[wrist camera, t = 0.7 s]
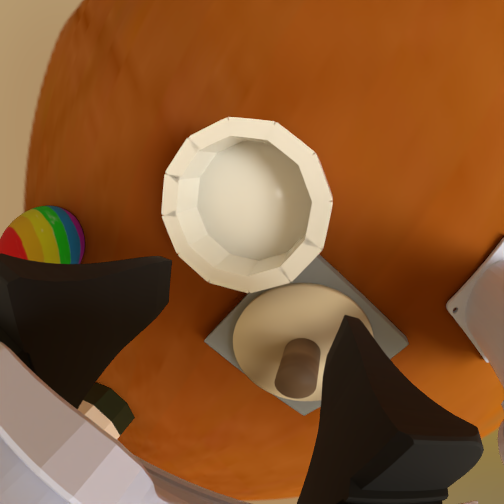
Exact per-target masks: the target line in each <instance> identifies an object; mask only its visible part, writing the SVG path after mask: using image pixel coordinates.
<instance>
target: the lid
mask: <svg viewBox="0 0 504 504" xmlns="http://www.w3.org/2000/svg"><path fill="white" fill-rule="evenodd" d="M344 315H348V316H352V317H355V318H359V319H360V320H361V321H362V322H363V324H364V325H365V326H366V328H367V329H368V330H369V332H370V333H371V335H372V336H373V331H372V327H371V324H370V322H369V319H368V317H367V315H366V314H365V313H364V311H363V310H362V308H361V307H360V306H359V305H358V304H357V303H356V302H355V301H354V300H352V299H351V298H350V297H349V296H347V295H345V294H344V293H342V292H340V291H338V290H336V289H333V288H331V287H328V286H324V285H320V284H314V283H290V284H285V285H280V286H277V287H274V288H271V289H269V290H267V291H265V292H263V293H262V294H260V295H259V296H257V297H256V298H255V299H254V300H252V301H251V302H250V303H249V304H248V306H247V307H246V308H245V309H244V311H243V312H242V314H241V316H240V317H239V319H238V321H237V323H236V326H235V329H234V333H233V349H234V353H235V357H236V359H237V362H238V364H239V365H240V367H241V369H242V370H243V372H244V373H245V374H246V375H247V376H248V377H249V378H250V380H251V381H253V382H254V383H255V384H256V385H257V386H259V387H260V388H262V389H264V390H265V391H267V392H269V393H271V394H273V395H276V396H278V397H282V398H285V399H289V400H295V401H319V400H321V396H322V381H323V373H324V367H325V362H326V357H327V354H328V352H329V350H330V347H331V345H332V343H333V341H334V339H335V336H336V334H337V332H338V329H339V327H340V325H341V322H342V320H343V317H344ZM373 338H374V336H373Z"/></svg>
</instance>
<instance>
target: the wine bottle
mask: <svg viewBox="0 0 504 504" xmlns="http://www.w3.org/2000/svg"><path fill="white" fill-rule="evenodd" d="M78 410H79V411H80V412H81V413H83V414H84V415H85V416H87V417H88V418H89V419H91V420H92V421H93V422H95V423H96V424H97V425H98V426H100V427H101V428H102V429H103V430H105V431H106V432H107V433H109V434H110V435H111V436H113V437H114V438H115V439H118V438H119V436H120V435H121V434H122V433H123V431H124V430H125V429H126V428H127V427H128V425H129V424H130V423H131V422H132V420H133V419H134V418H135V417H134V416H133V414H132V412H131V410H130V408H129V406H128V404H127V403H126V402H125V401H124V400H123V399H122V398H121V397H119V396H118V395H117V394H116V393H115V392H114V391H113V390H112V389H111V388H109V387H106V386H104V385H101V384H99V383H95V384H94V385H93V386H92V387H91V389H90V390H89V392H88V393H87V395H86V396H85V398H84V399H83V401H82V403H81V404H80V406H79V408H78Z"/></svg>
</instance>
